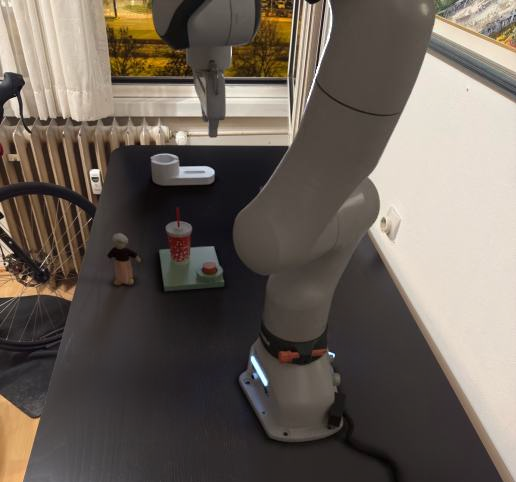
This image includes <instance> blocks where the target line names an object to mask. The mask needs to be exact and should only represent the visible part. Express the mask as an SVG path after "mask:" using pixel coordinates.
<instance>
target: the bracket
mask: <svg viewBox="0 0 516 482" xmlns="http://www.w3.org/2000/svg"><path fill="white" fill-rule="evenodd" d="M150 168H151V169H150V170H151V177H152V178H151V179H152V182H153V183H154V184H156V185H159V186H193V185H194V186H198V185H200V186H202V185H211V184H212V183H214V182H215V170H214V169H213V168H212V167H210V166H207V165H201V166H200V165H199V166H198V165H196V166H195V165H194V166H180V160H179V157H178V156H177V155H175V154H172V153H157V154H154V155H152V156H151V157H150Z"/></svg>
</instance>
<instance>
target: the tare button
mask: <svg viewBox="0 0 516 482" xmlns="http://www.w3.org/2000/svg"><path fill="white" fill-rule="evenodd" d="M203 273H204V274H208V275H211V274H215V273H216V263H214V262H211V261H208V262H205V263H204V264H203Z"/></svg>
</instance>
